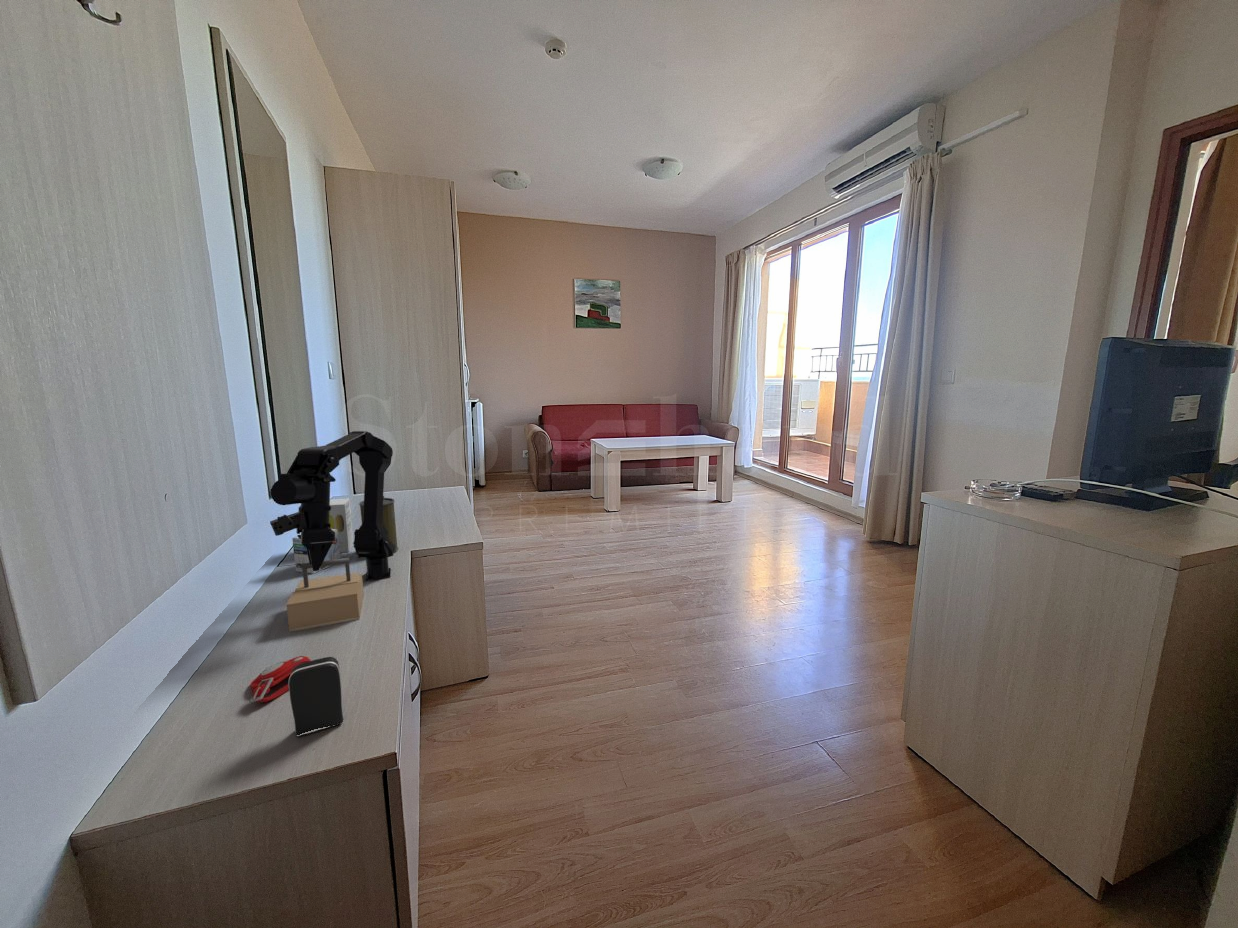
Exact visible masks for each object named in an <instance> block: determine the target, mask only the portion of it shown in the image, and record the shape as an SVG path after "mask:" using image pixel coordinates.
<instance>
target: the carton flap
mask: <svg viewBox="0 0 1238 928" xmlns="http://www.w3.org/2000/svg"><path fill="white" fill-rule="evenodd" d="M337 565H344V566H345V567H344V568H345V573H344V574H340V575H331V576H327V577H326V576H325V577H324V576H323V577H318V578H310V579H309V576H308V574H309V573H307V569H309V568H312V564H310V563H303V564H301V568H302V570H303V572H302V579H303V580H300V581H299V583H298V584H297V586H296V588H295V590H294V592H298V591H305V590H311V589H318V588H325V587H331V586H338V585H345V584H351V583H358V581H359V577H360V574H361V572H359V571H358V572H355V573H353V572H352V573H351V569H350V568H351V567H350V557H344V558H343V557H342V558H340V559H334V560H326V561H323V563H322V565H321V567H324V566H329V567H331V566H337Z"/></svg>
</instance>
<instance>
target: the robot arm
mask: <svg viewBox="0 0 1238 928" xmlns="http://www.w3.org/2000/svg"><path fill="white" fill-rule="evenodd" d="M393 452H394V451H393V448H392V446H391V445H389V443H388V442H386V441H385V440H384V439H381V438H379V437H376V436H375V435H373V434H372V432H370V431H368V430H357V431H356V430H353V431H351V432H349V433H348V434H346V435H344V436H342V437H340V438H338V439H336V440H333V441H331V442H329V443H327V444H325V445H319V446H310V447H306V448H305V447H304V448H302V449H300V450H298V452H297V455H296V457H295V458H294V460H293V462H292V464H291V465H290V467H289V469H288V470H287V472H286V473H280V474H279V479H278V480H276V481H275V482H274V483H273V484H272V486H271V489H270V498H271V499H272V501H273V502H274V503H276V504H277V505H279V506H280V505H281V506H289V505H297V504H300V505H299V506H298V511H297V512H294V513H290V514H287V515H286V514H283V515H282V516H277V518H276V519H273V520H270V521H269V524H270V525H271V528H272V531H273V533H274V535H275V537H277V536H281V535H283V534H285V533H287V532H290V531H293V530H295V529H296V534H297V536H298V537H299V538H300V539H301V543H302V545H303V546H305V547H306V550H307V554H308V559H309V563H310V564H312V568H313V571H318V572H320V571H319V569H320V567H321V565H322V563H323V561H324V559H325V557H326V555H327V553H328V551H329V549H330V547H331V545H332V544H333V541H335V532H334V531H333V530H332V529H330V523H329V514H330V511H331V506H330V499H331V483H334V482H336V481H337V480H336V478H335V477H334V476H333V475H332V474H331V473H332V472H333V471H334V470H336V469H337V467H339V466H340V461H341V460H342V459H344V458H346V457H348V456H349V455H351V454H355V455H356V456H357V457H358V463H359V465H360V466H361V468H362V469H363V472H364V489H363V490H364V492H363V493H364V494H363V501H364V510H363V524H362V523H361V525H360V526H359V528H358V529H355V530H354V532H353V548H354V550H355V553H356V555H357V558H358V559H361V558H363V559H364V558H365V564H366V572H365V577H364V580H365V581H371V580H372V581H373V580H380V579H386V578H390V577H391V571H392V570H391V569H392V568H391V567H389V558H390V557H393V556H394V554H395V553H396V552H395V545H394V544H393V543H392V542H391V541H390V540H389V539H388V531H387V530H386V528H385V526H384V525H383V523H382V513H383V497H384V488H385V487H384V485H385V483H384V482H385V473H386V471H388V468H389V467H390V466H391V464H392V457H393ZM297 536H296V537H297Z"/></svg>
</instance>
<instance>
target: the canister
mask: <svg viewBox="0 0 1238 928" xmlns="http://www.w3.org/2000/svg"><path fill="white" fill-rule="evenodd" d="M358 505H359V506H360V507H359V508H360V518H361V525H362V524H363V510H364V500H362V501H360V502H359V504H358ZM395 513H396V512H395V499H394V498H392V497H385V496H383V513H382V523H383V525H384V526H385V528H386V530H387V531H388V539H389V540H390V541H391V542H392V543H393V544H394V545H395V551H396V552H397V551H398V550H399V547H398V538H397V536H398V535H397V526H396V525H397V524H396V515H395Z"/></svg>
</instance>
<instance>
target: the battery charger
mask: <svg viewBox="0 0 1238 928" xmlns="http://www.w3.org/2000/svg"><path fill="white" fill-rule="evenodd" d="M340 669H341V668H340V665H339V661H338V660H337V658H335V657H334V656H327V657H322V658H318V659H314V660H311V661H308V662H305V663H301V664H298V665H297V666H295V667H294V668H293V670H292V672H291V674H290V675H289V676H288V677H289V678H288V684H289V690H288V693H289V700H290V706H291V711H292V716H293V721H294V732H295V733H296V734H295V736H296V735H300V734H302V733H305V732H308V731H311V730H314V729H318V728H323V727H328V726H333V725H336V726H338V725H337V724H339V725H341V724H340V723H342V722H343V723H344V721H343V720H344V719H345V718H344V717H345V715H344V711H343V694H342V693H343V691H342V679H341V672H340V671H341V670H340ZM343 723H342V724H343ZM333 727H334V726H333Z"/></svg>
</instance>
